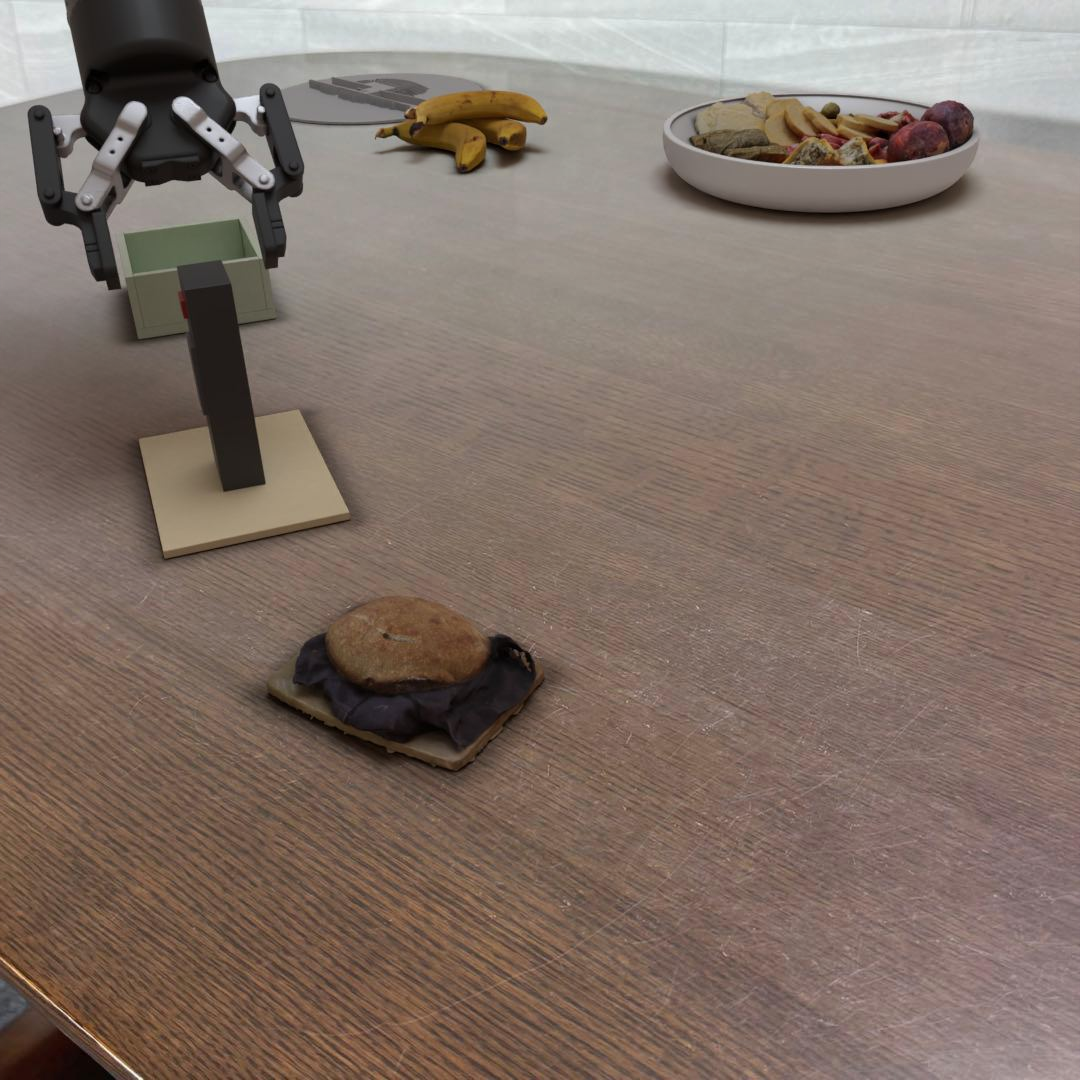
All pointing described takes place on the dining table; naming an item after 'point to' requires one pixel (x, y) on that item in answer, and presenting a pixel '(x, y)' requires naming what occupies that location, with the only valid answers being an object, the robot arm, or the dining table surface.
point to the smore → (410, 679)
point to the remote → (221, 372)
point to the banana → (469, 123)
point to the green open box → (167, 247)
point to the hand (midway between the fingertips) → (194, 273)
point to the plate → (367, 97)
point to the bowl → (821, 150)
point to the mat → (244, 514)
